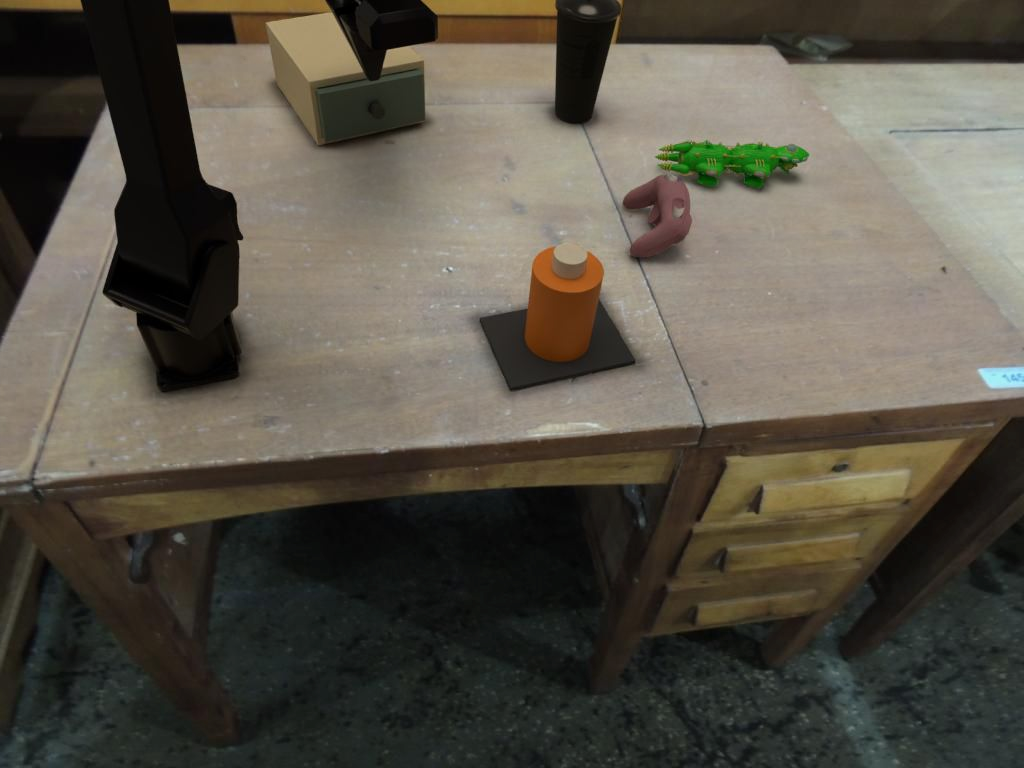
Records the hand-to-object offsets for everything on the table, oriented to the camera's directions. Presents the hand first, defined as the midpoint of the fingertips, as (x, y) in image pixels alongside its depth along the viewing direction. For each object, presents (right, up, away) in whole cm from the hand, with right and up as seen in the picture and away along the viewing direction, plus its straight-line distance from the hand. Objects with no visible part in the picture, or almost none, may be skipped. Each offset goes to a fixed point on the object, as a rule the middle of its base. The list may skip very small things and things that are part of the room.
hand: (373, 79), depth 74 cm
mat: (+18, -26, -6) cm, 32 cm away
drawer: (-5, +4, +18) cm, 19 cm away
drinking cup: (+22, +4, +22) cm, 31 cm away
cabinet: (-7, +5, +20) cm, 22 cm away
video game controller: (+29, -14, +6) cm, 33 cm away
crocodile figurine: (+40, -5, +15) cm, 43 cm away
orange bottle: (+18, -26, -6) cm, 32 cm away
